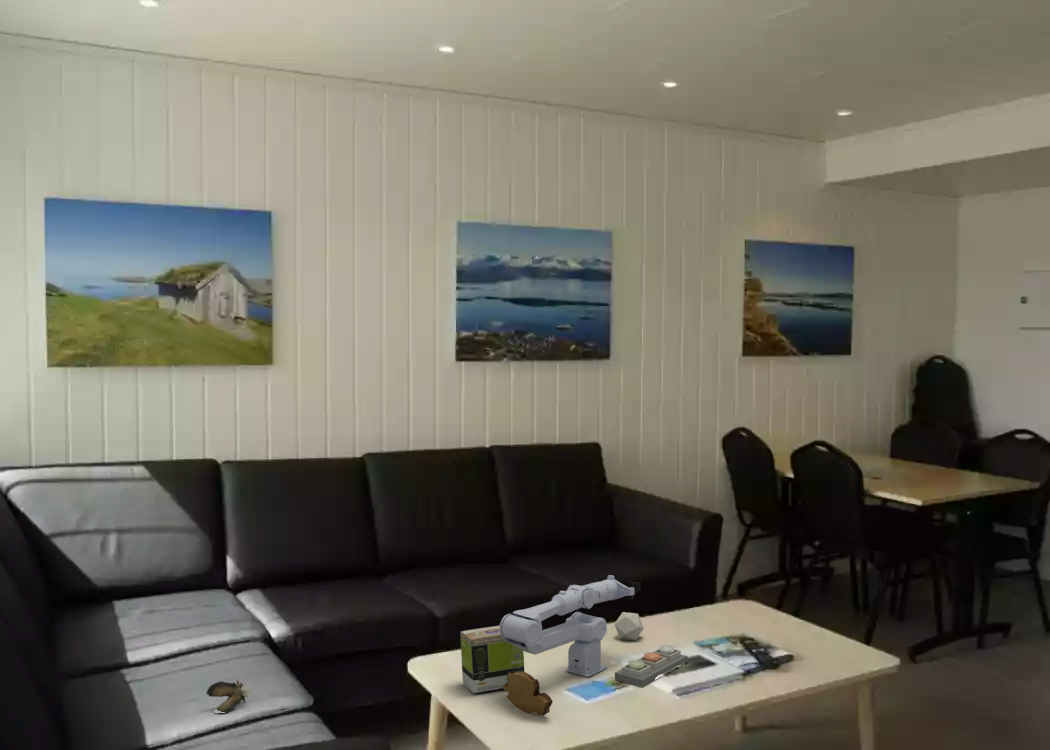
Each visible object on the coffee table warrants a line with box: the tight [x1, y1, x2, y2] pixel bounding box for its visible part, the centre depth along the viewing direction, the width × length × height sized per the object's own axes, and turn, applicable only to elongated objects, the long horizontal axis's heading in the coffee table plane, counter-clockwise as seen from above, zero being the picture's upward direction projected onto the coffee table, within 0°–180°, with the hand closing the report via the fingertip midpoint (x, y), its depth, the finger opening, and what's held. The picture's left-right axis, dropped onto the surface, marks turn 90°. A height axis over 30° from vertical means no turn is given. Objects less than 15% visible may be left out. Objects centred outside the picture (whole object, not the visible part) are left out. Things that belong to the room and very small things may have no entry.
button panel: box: [614, 648, 688, 688], centre depth 262 cm, size 24×9×4 cm, turn 140°
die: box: [614, 611, 645, 642], centre depth 290 cm, size 8×9×10 cm
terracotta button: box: [643, 651, 660, 663], centre depth 262 cm, size 4×4×2 cm
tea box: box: [460, 624, 525, 694], centre depth 252 cm, size 15×10×15 cm
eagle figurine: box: [205, 680, 252, 713], centre depth 239 cm, size 8×8×10 cm
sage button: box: [627, 659, 644, 671], centre depth 255 cm, size 4×4×2 cm
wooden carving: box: [501, 671, 553, 717], centre depth 235 cm, size 16×5×10 cm, turn 48°
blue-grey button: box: [658, 644, 675, 655], centre depth 268 cm, size 4×4×2 cm
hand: (629, 584), depth 277 cm, fingers open, 7 cm apart
